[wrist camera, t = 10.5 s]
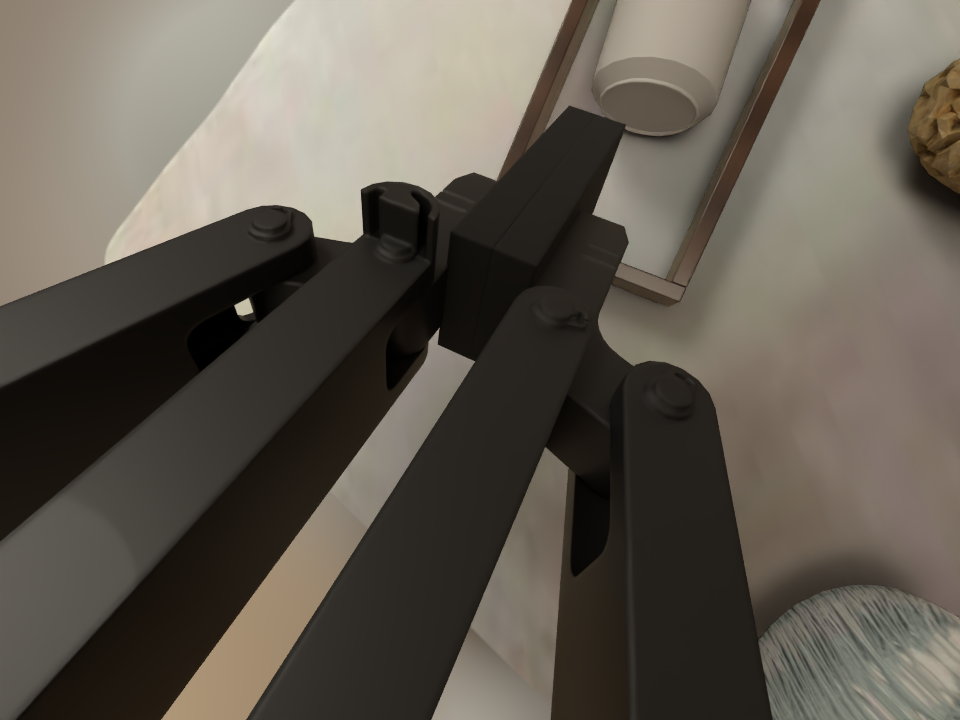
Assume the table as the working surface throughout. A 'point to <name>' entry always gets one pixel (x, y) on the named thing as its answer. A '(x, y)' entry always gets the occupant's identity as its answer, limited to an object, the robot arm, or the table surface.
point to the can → (666, 62)
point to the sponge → (939, 127)
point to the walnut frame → (729, 164)
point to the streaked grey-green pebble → (863, 658)
